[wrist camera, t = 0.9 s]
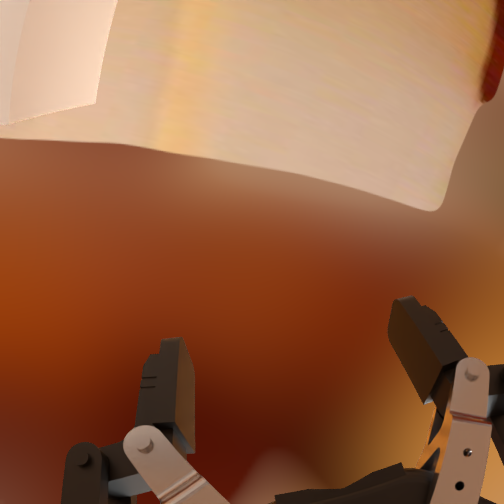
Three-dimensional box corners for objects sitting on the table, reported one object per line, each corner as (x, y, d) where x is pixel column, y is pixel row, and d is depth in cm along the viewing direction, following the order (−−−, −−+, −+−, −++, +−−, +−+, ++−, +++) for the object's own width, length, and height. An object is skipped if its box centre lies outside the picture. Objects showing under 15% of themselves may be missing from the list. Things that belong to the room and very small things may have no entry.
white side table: (-1, 102, 26) (-100, 131, 12) (26, -26, 19) (-58, -56, 4) (95, 103, 29) (8, 125, 14) (129, -37, 22) (75, -106, 7)
